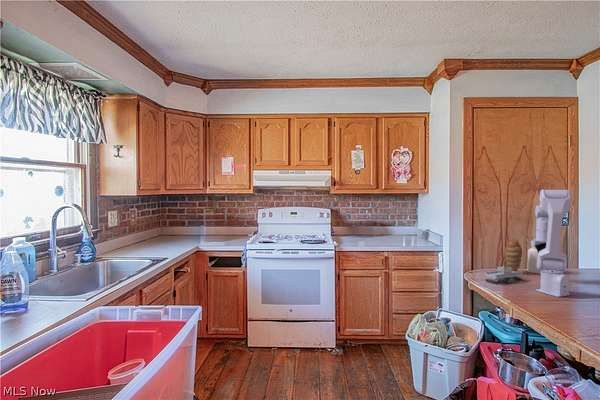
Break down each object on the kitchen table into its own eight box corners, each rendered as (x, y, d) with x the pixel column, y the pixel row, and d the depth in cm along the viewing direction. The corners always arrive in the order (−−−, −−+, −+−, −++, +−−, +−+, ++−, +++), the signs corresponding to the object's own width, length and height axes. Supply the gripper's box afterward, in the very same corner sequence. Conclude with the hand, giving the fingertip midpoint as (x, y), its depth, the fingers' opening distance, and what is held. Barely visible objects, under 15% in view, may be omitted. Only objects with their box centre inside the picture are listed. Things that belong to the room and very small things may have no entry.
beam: (523, 275, 164) (523, 271, 164) (496, 278, 157) (496, 274, 157) (511, 272, 169) (511, 269, 169) (484, 275, 163) (485, 271, 163)
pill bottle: (545, 274, 175) (546, 245, 175) (526, 272, 180) (527, 244, 179) (545, 271, 182) (546, 243, 181) (527, 269, 186) (528, 242, 186)
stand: (524, 280, 163) (524, 276, 163) (497, 284, 157) (497, 279, 157) (510, 277, 170) (510, 272, 170) (483, 280, 163) (483, 275, 163)
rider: (511, 273, 163) (511, 266, 163) (503, 274, 161) (504, 267, 161) (504, 272, 166) (504, 265, 166) (497, 273, 164) (497, 265, 164)
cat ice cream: (525, 275, 174) (526, 240, 173) (509, 275, 174) (510, 240, 174) (515, 270, 183) (515, 237, 182) (500, 270, 183) (501, 237, 182)
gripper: (544, 229, 170) (543, 256, 170) (524, 230, 165) (524, 258, 165) (560, 231, 163) (559, 259, 164) (539, 232, 158) (538, 261, 159)
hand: (542, 259), depth 164 cm, fingers closed
